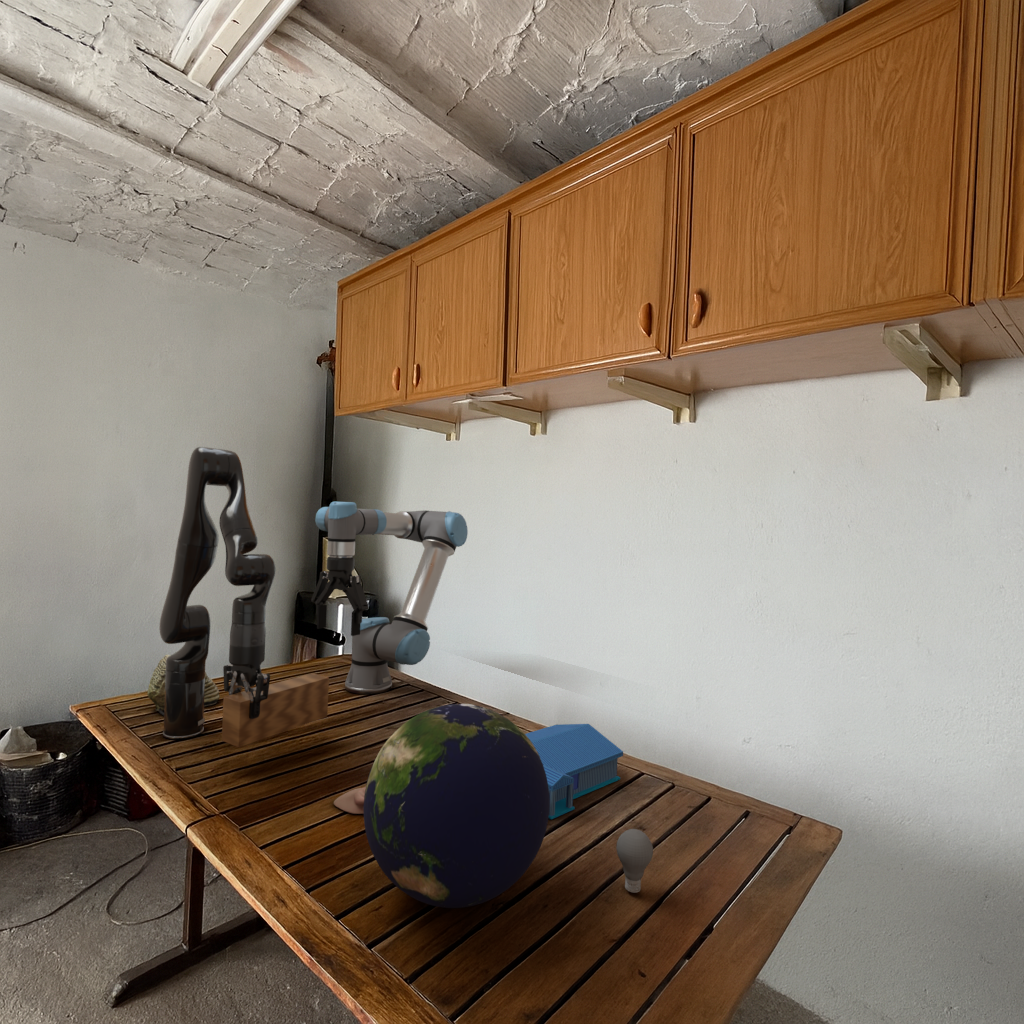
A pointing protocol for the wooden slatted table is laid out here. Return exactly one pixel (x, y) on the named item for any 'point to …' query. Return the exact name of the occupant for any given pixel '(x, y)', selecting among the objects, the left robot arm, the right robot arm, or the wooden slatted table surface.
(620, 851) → the light bulb
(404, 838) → the globe
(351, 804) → the anatomical model
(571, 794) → the model building
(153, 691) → the fossil
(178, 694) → the left robot arm
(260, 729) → the box
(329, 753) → the wooden slatted table surface
